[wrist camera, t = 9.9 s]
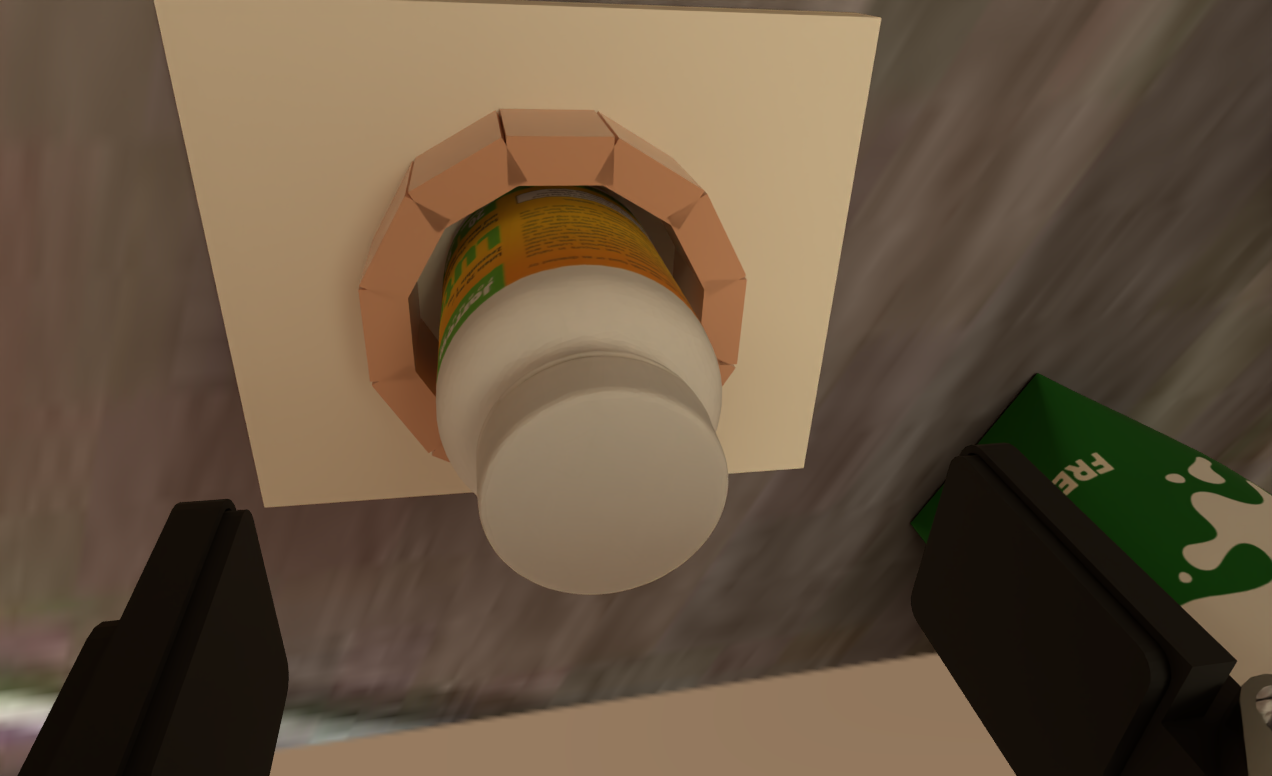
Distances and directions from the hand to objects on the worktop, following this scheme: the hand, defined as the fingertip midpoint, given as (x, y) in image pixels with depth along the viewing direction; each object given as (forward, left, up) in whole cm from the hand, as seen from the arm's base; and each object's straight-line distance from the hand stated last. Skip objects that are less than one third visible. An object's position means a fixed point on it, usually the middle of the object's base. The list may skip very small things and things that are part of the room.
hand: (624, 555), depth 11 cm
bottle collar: (+1, 0, -12) cm, 11 cm away
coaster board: (+1, 0, -13) cm, 13 cm away
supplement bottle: (0, 0, -12) cm, 12 cm away
